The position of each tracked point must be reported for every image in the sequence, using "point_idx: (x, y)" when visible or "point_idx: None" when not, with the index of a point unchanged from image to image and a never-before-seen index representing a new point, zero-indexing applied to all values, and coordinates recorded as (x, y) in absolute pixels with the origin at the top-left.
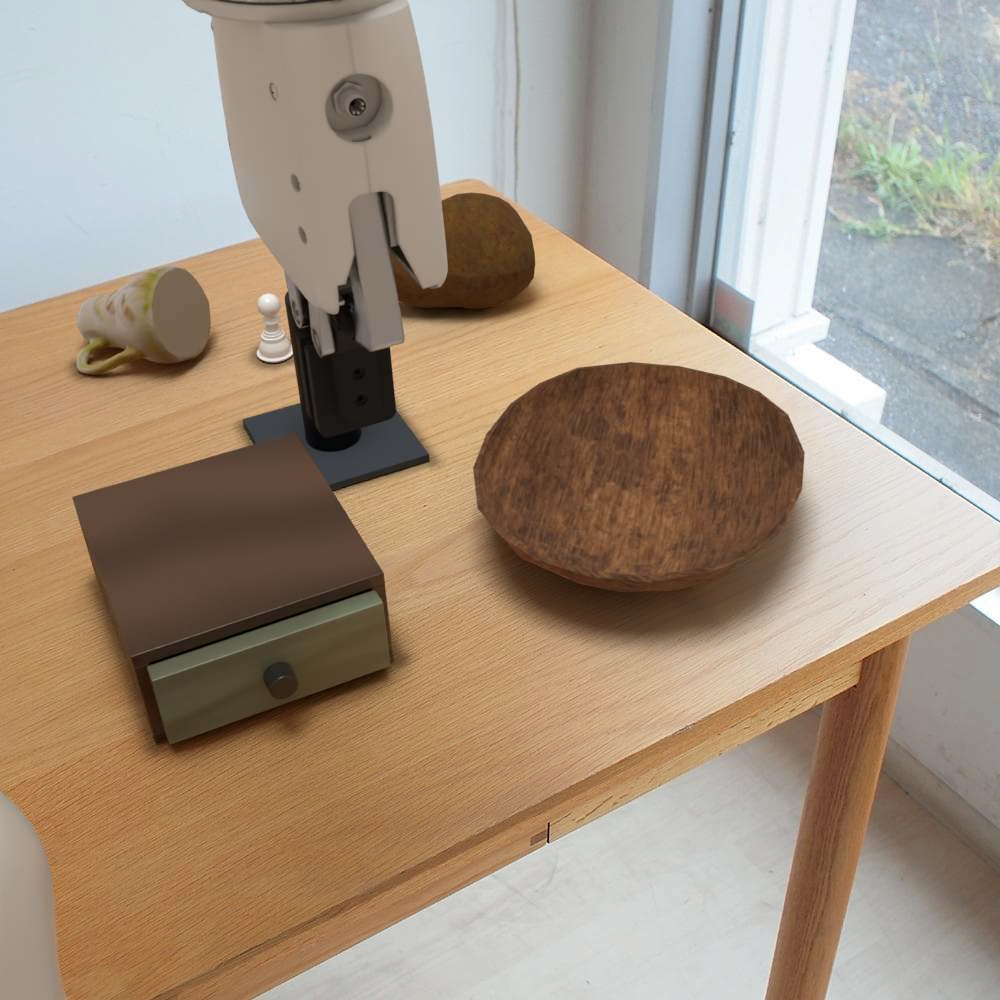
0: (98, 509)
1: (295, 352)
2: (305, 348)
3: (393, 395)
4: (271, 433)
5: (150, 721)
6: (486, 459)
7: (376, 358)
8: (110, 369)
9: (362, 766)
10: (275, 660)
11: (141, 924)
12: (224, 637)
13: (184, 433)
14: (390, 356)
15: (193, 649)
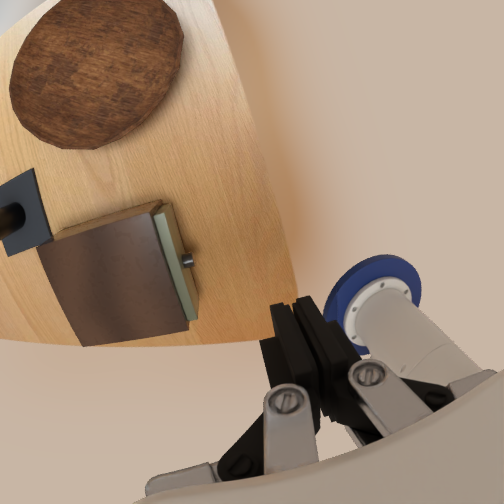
0: (90, 338)
1: None
2: (335, 420)
3: (315, 306)
4: (15, 244)
5: None
6: (55, 140)
7: (359, 357)
8: None
9: (222, 221)
10: (182, 264)
11: (274, 303)
12: None
13: (15, 280)
14: (333, 335)
15: None
